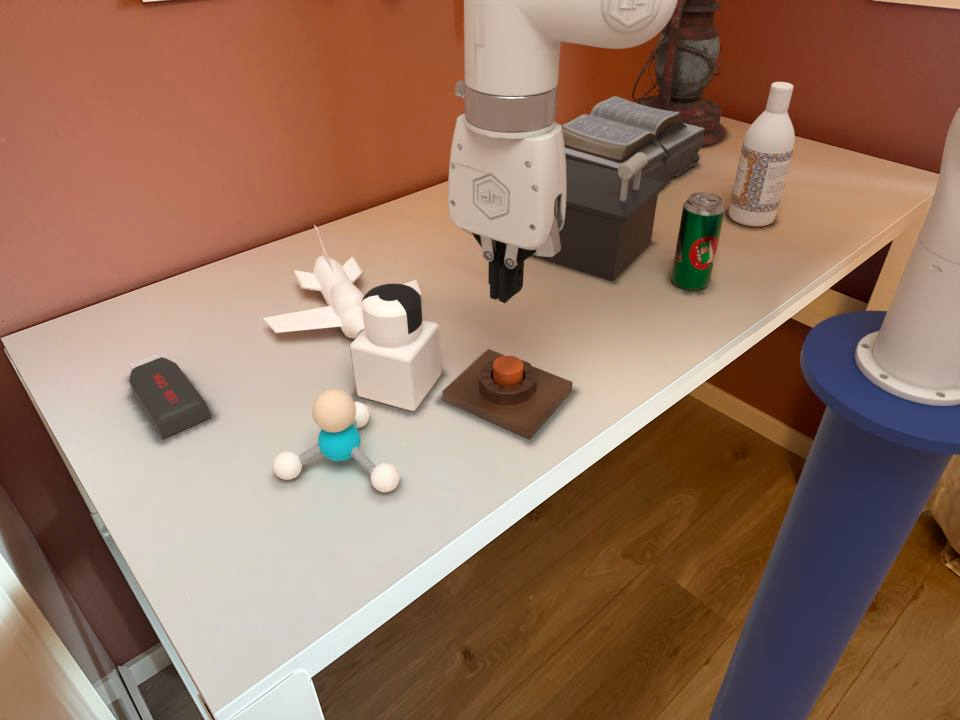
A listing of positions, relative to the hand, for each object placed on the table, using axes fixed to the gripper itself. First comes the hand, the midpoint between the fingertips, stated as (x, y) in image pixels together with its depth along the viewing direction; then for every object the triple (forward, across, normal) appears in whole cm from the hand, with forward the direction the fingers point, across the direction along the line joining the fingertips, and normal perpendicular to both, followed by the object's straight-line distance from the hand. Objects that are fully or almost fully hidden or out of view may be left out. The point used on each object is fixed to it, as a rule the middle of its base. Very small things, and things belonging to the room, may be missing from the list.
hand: (505, 294), depth 70 cm
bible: (+13, -16, +61) cm, 65 cm away
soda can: (+13, +8, +33) cm, 37 cm away
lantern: (+13, -15, +85) cm, 87 cm away
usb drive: (+14, -30, -20) cm, 39 cm away
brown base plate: (+13, 0, 0) cm, 13 cm away
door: (+4, -7, +34) cm, 35 cm away
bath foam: (+13, +9, +56) cm, 58 cm away
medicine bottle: (+13, -10, -5) cm, 18 cm away
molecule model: (+14, -8, -17) cm, 23 cm away
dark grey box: (+13, -8, +34) cm, 37 cm away
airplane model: (+14, -26, +3) cm, 30 cm away
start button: (+10, 0, 0) cm, 11 cm away
